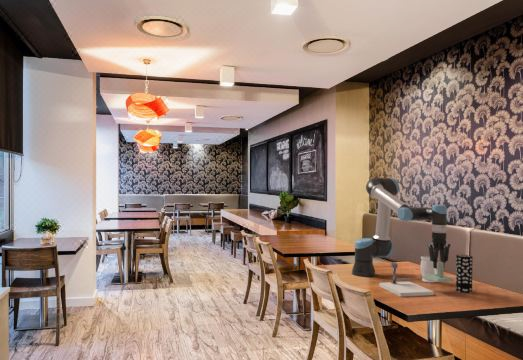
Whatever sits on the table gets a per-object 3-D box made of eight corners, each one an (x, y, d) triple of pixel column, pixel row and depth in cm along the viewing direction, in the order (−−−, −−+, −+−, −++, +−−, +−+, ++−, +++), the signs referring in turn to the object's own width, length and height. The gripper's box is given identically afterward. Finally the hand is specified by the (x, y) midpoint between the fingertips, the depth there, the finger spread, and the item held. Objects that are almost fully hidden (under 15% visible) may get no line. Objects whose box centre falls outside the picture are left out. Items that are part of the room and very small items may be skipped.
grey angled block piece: (393, 283, 238) (393, 263, 239) (391, 281, 244) (391, 261, 245) (411, 284, 237) (411, 264, 237) (408, 282, 243) (409, 262, 243)
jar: (439, 283, 251) (440, 259, 252) (421, 282, 253) (422, 258, 254) (436, 279, 262) (436, 256, 262) (418, 278, 264) (419, 255, 264)
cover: (424, 277, 238) (424, 260, 238) (439, 276, 240) (440, 260, 240) (437, 281, 226) (437, 264, 226) (453, 281, 228) (453, 264, 228)
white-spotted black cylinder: (465, 293, 229) (466, 257, 229) (452, 290, 236) (453, 255, 236) (475, 292, 232) (475, 256, 233) (462, 288, 240) (462, 254, 240)
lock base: (379, 286, 242) (379, 282, 242) (409, 285, 247) (409, 281, 247) (400, 296, 220) (400, 292, 220) (433, 295, 224) (433, 290, 224)
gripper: (431, 233, 228) (430, 275, 228) (455, 232, 231) (455, 274, 231) (423, 231, 235) (422, 272, 235) (446, 231, 239) (446, 272, 238)
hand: (438, 273), depth 233 cm, fingers closed on cover, 2 cm apart
